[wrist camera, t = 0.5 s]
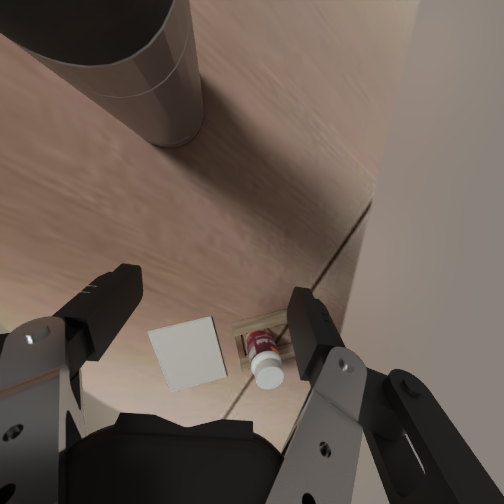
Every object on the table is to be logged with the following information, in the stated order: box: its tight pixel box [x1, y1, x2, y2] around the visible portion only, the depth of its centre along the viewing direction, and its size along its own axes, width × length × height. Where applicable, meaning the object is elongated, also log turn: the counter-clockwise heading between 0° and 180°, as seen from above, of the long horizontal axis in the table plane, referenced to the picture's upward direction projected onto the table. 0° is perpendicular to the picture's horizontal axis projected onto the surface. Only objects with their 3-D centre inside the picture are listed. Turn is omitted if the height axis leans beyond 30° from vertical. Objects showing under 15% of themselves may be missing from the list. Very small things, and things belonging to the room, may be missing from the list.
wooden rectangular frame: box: [232, 309, 295, 371], centre depth 35 cm, size 9×13×2 cm, turn 99°
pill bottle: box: [246, 328, 284, 390], centre depth 32 cm, size 5×5×8 cm
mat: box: [147, 316, 227, 392], centre depth 34 cm, size 13×10×1 cm
